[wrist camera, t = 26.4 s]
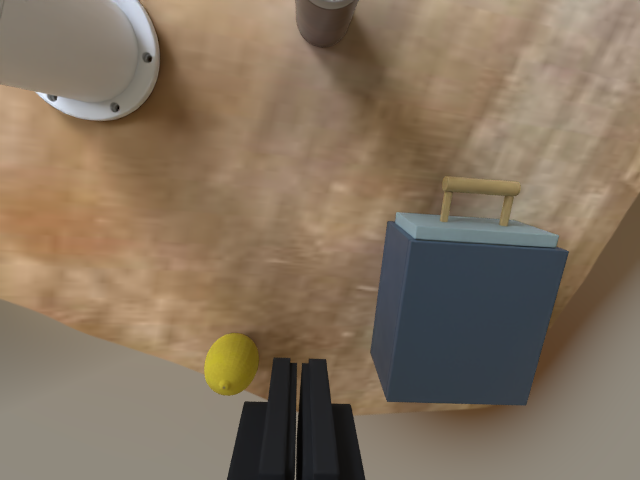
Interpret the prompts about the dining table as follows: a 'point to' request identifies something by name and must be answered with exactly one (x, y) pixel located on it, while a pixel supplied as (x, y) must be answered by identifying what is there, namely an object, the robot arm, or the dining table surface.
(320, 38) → the brown lidded jar
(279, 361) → the robot arm
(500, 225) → the drawer
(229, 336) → the lemon
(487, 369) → the cabinet
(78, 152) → the dining table surface
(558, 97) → the dining table surface
